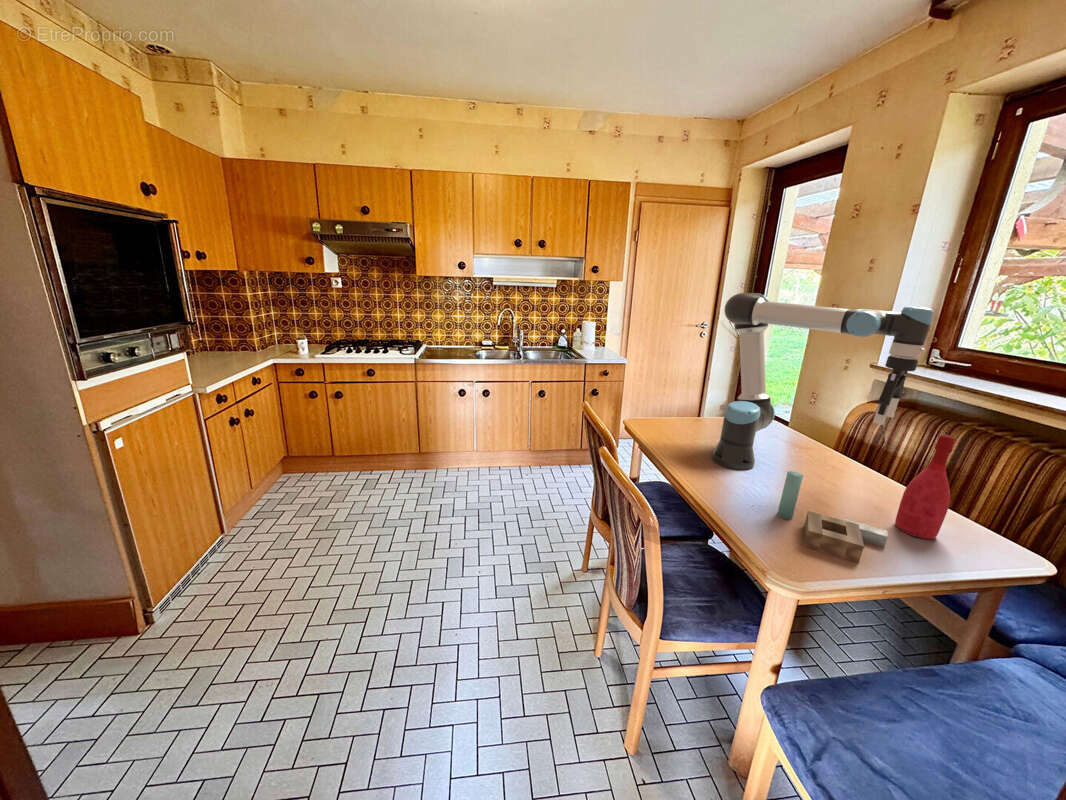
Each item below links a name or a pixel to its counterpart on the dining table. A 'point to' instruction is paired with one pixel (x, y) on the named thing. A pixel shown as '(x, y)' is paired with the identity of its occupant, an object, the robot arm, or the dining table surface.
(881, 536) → the grey bar
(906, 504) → the wine bottle
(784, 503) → the peg
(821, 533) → the socket block
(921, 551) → the dining table surface
